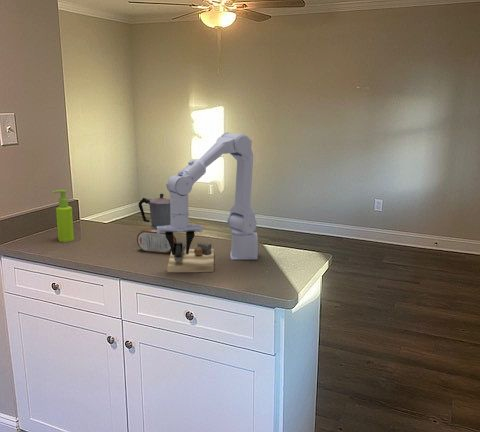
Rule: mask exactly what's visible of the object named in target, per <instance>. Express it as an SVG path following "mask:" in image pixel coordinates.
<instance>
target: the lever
mask: <svg viewBox="0 0 480 432" xmlns="http://www.w3.org/2000/svg"><path fill="white" fill-rule="evenodd" d="M173 245H174V257H175V261H182V258H183V251H185V250H186V243H184V241H177V242H175V243H174V244H173Z"/></svg>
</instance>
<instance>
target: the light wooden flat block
mask: <svg viewBox="0 0 480 432" xmlns="http://www.w3.org/2000/svg"><path fill="white" fill-rule="evenodd" d="M214 251H215V249H214V248H212V243H208V242H204V241H201V242H197V247H195V248H189V254H186V250H185V251H183V258H182V261H175V257H174V255H172V251H171V252H170V255H169V259H168V263H167V266H166V267H167V273H214V269H215V267H214V263H215V260H214V259H215V258H214V257H215V256H214V254H215V253H214Z"/></svg>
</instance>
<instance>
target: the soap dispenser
mask: <svg viewBox="0 0 480 432" xmlns="http://www.w3.org/2000/svg"><path fill="white" fill-rule="evenodd" d="M51 193H52V194H56V193H57V194H58V193H60V198H58V206H57V207H56V208H55V213H56V215H55V216H56V226H57V228H56V229H57V239H58V242H61V243H67V242H73V241H74V240H75V233H74V221H73V219H74V218H73V208H72V206H70V205H69V198H67V197H66V193H68V191H67V190H66V189H58V190H57V189H56V190H53V191H51Z"/></svg>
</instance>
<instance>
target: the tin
mask: <svg viewBox="0 0 480 432" xmlns="http://www.w3.org/2000/svg"><path fill="white" fill-rule="evenodd" d="M175 242H178V241H177V238H176V236H175V235H174V233H173V244H174V243H175ZM136 243H137V246H138V247H139V248H140V249H141V250H142V251H144V252H148V253H157V254H169V253H171V247H170V244H169V242H168V240H167V238H166V235H165V233H160V234H157V229H151V228H144V229H142V230H141V231H140V232H138V234H137V236H136Z"/></svg>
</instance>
